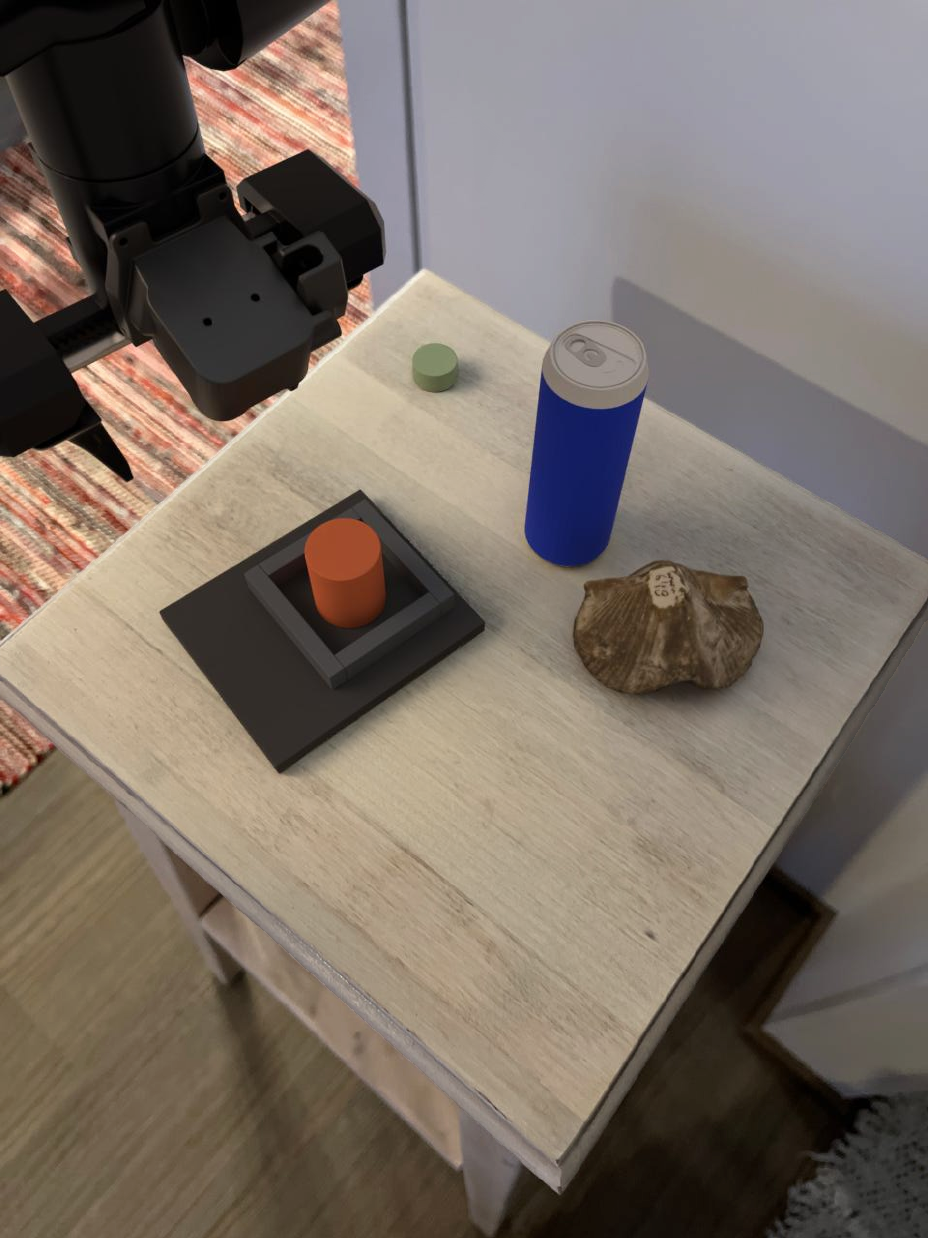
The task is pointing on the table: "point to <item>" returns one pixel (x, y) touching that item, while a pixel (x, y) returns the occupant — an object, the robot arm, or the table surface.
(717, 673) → the fossilized seashell
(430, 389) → the pad
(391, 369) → the table surface
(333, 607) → the orange cylinder
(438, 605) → the base pad
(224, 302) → the robot arm
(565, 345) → the beverage can
